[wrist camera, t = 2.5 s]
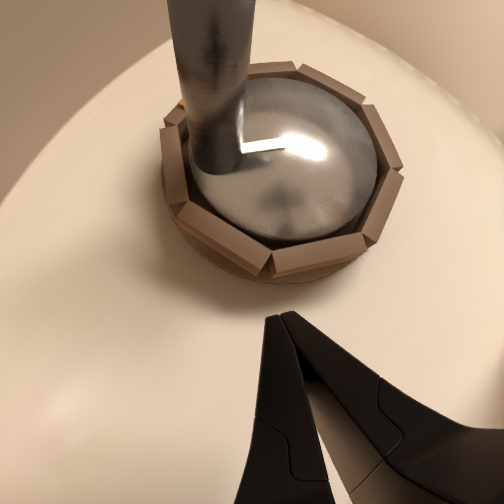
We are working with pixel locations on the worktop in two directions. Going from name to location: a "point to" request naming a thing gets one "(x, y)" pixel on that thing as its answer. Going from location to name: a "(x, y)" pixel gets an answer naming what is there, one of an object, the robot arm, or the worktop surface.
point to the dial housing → (272, 256)
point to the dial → (264, 134)
